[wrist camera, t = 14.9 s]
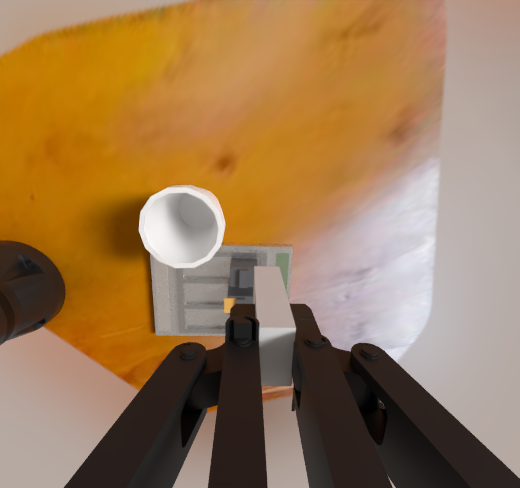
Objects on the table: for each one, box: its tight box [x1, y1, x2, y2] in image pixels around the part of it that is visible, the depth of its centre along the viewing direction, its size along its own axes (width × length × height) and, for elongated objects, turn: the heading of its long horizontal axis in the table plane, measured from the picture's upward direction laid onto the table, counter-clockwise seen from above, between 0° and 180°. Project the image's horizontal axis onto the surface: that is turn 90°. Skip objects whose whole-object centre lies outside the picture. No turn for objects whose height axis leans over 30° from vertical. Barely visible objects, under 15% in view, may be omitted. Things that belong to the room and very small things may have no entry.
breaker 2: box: [224, 285, 254, 314], centre depth 46 cm, size 4×3×5 cm
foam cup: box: [139, 185, 226, 268], centre depth 40 cm, size 10×9×13 cm
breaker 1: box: [230, 258, 258, 288], centre depth 45 cm, size 4×3×5 cm
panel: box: [150, 243, 293, 336], centre depth 49 cm, size 22×16×2 cm
